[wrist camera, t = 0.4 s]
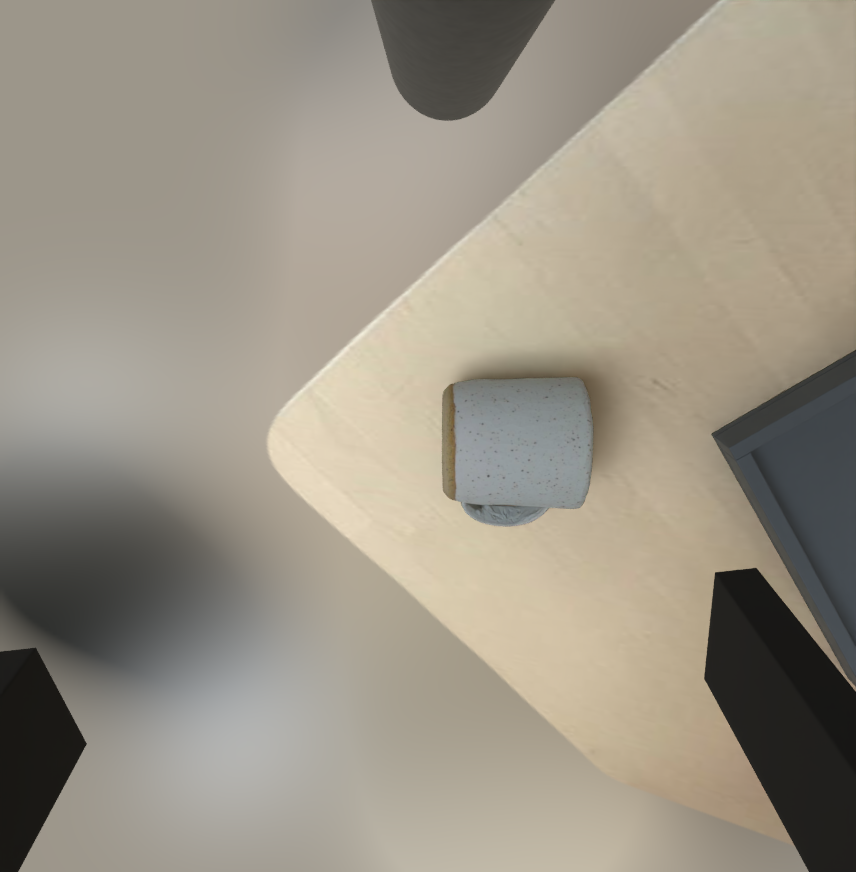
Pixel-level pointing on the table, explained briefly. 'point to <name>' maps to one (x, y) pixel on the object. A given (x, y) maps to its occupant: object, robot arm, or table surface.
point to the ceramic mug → (516, 447)
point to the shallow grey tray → (807, 492)
